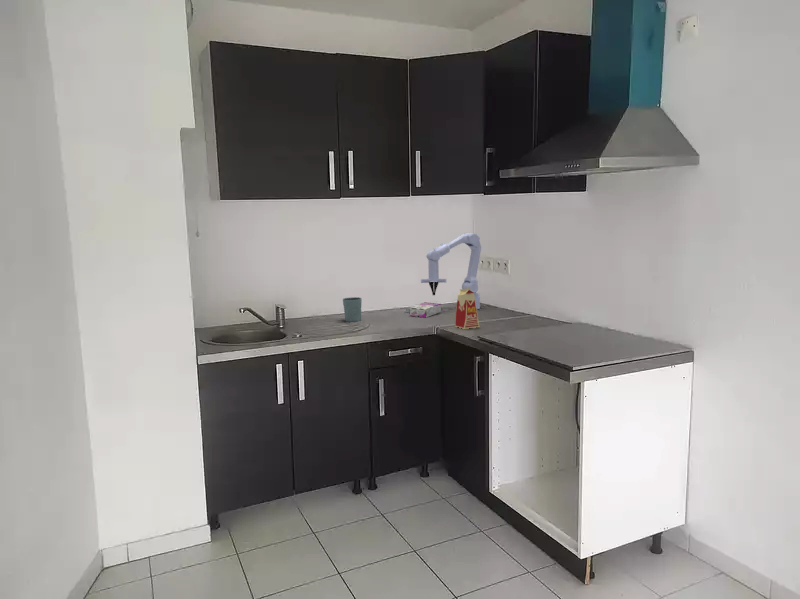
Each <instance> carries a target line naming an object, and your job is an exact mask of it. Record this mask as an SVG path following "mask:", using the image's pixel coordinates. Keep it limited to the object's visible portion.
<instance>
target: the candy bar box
mask: <svg viewBox="0 0 800 599" xmlns="http://www.w3.org/2000/svg"><path fill="white" fill-rule="evenodd" d="M408 309H409V310H410V313H409V316H410V317H416V316H419V317H418V318H425V317H427V318H429V317H431V316H434V315H437V314H439V313H441V312H442V303H437V302H426V301H425V302H421V303H419V304H416V305H413V306H411V307H410V306H409V308H408Z"/></svg>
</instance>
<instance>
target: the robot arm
mask: <svg viewBox="0 0 800 599" xmlns="http://www.w3.org/2000/svg"><path fill="white" fill-rule="evenodd" d="M461 244H465V245H466V246H468V247H469V249H470V250H471V251H470V256H469V261H468V262H469V263H468V267H467V268H468V269H467V274H466V277H465V278H464V280H463V282H462V284H461V289H466V288H470V289H469V290H470V291H472V292H474V296H475V302H476V308H477V310H480V309H481V307H480V306H481V299H480V298H481V296H480V295H481V294H480V293H479V292H478V290H479V281H478V278H477V274H478V269H479V263H480V258H481V257H480V256H481V252H482V245H481V241H480V236H479V234H477V233H475V232H473V233H470V232H464V233H463V234H460V235H459V236H458V237H456V238H455V239H453V240H451V241H450V242H448V243H441V244H440V246H437V247H435V248H433V250H428V252H427V254H426V258H427V261H428V278H421V279H420V283H421V284H423V283H424V284H429V287H430V290H431V293H432V296H436V292H437V289H438V286H439V283H444V284H445V283H447V278H439V260H440V259H441V258H442V257H444V256H445V255H447V254H449V253H450V250H451V249H453V248H456V247H457V246H458V245H461Z"/></svg>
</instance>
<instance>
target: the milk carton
mask: <svg viewBox="0 0 800 599" xmlns="http://www.w3.org/2000/svg"><path fill="white" fill-rule="evenodd" d="M469 289H470V288H466V289H462V288H461V289H459V293H458V294H457V299H456V307H455V321H454V328H457V327H459V328H458V329H461V328H462V329H461V330H464V329H465V330H470V329H469V328H473V329H477V328H476V327H480V321H479V315H478V309H477V308H476V302H475V296H474V292H472V291H470V290H469Z"/></svg>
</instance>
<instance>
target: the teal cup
mask: <svg viewBox="0 0 800 599" xmlns="http://www.w3.org/2000/svg"><path fill="white" fill-rule="evenodd" d="M342 304H343V311H344V319H345V322H347V323H357V322H361V321H362V297H355V296H354V297H352V296H351V297H345V298H343V299H342Z"/></svg>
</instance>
